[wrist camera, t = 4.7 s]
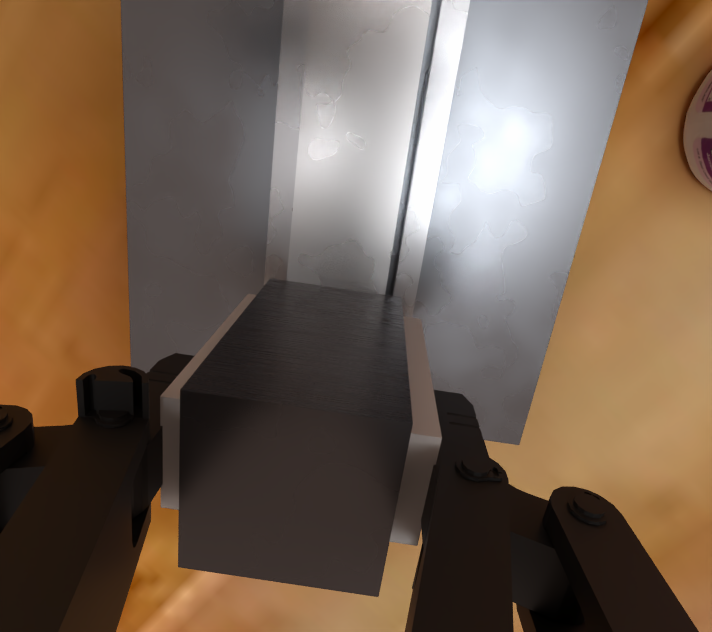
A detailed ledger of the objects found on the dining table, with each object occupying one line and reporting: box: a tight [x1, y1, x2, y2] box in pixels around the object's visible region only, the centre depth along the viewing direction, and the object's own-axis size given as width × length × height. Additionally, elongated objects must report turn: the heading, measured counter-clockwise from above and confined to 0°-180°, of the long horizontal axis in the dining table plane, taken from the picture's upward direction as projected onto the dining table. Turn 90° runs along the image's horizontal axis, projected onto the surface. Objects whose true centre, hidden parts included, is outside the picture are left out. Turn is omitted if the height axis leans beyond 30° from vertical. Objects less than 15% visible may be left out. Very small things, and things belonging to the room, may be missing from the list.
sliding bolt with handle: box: [178, 0, 432, 597], centre depth 12 cm, size 16×4×10 cm, turn 173°
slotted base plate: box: [121, 0, 648, 445], centre depth 13 cm, size 28×16×8 cm, turn 173°
